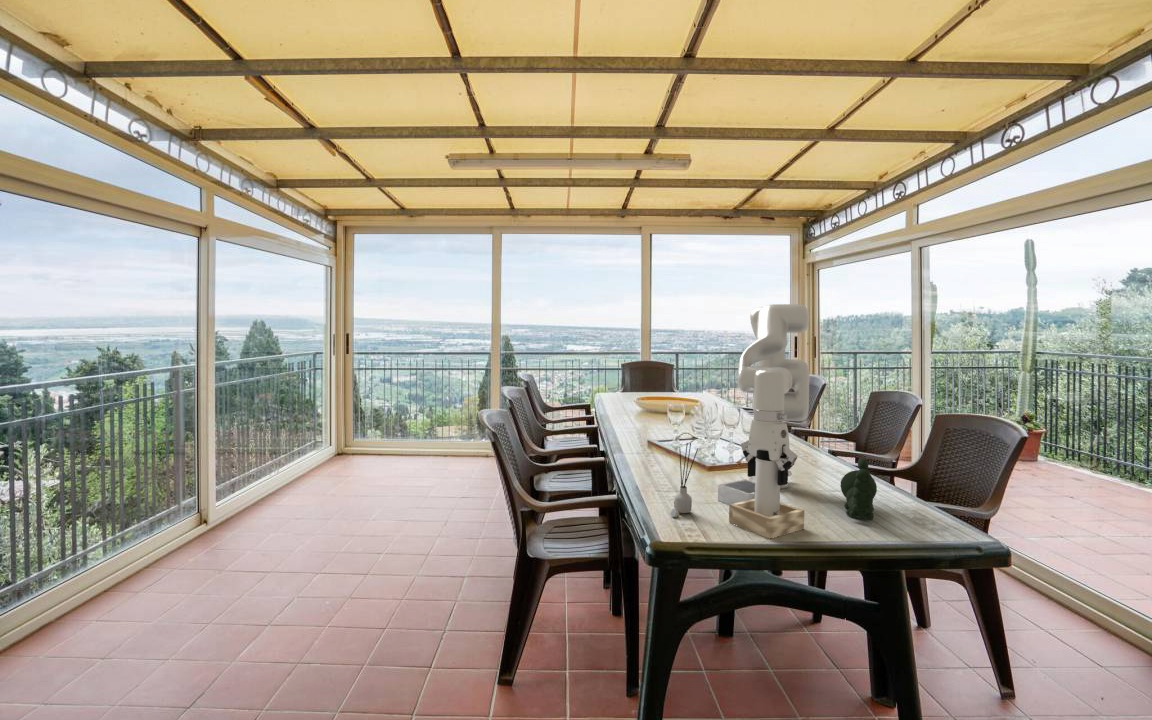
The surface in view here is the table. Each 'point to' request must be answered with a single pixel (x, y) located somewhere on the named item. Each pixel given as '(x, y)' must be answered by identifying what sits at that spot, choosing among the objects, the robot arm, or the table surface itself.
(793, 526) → the light wooden tray
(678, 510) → the reed diffuser
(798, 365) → the robot arm
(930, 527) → the table surface
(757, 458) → the travel mug
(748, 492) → the open box
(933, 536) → the table surface
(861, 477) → the toy figurine
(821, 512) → the table surface
